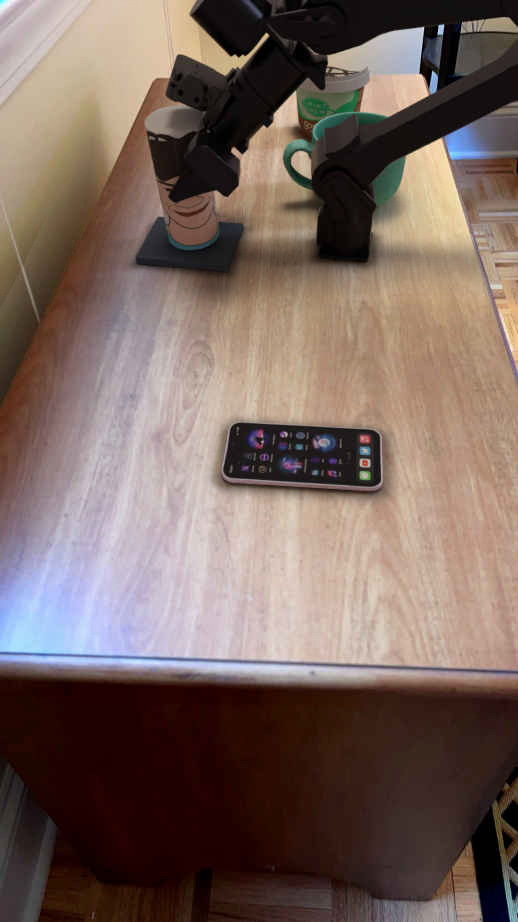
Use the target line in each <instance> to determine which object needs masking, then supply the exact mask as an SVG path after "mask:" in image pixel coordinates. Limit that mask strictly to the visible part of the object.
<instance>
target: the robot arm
mask: <svg viewBox="0 0 518 922" xmlns="http://www.w3.org/2000/svg"><path fill="white" fill-rule="evenodd" d="M188 15H189V17H190V18H191V19H192V20H193V21H194V22H195V23H196V24H197V25H198V26H199V27H200V28H201V29H202V30H203V31H204V32H205V33H206V34H207V35H208V36H209V37H210V38H211V39H212V40H213V41H214V42H215V43H216V44H217V45H218V46H219V47H220V48H221V49H222V51H224V52H225V54H227V55H228V56H229V57H234V56H236V57H237V58H238V59H239V58H241V57H242V56H243V57H246V56H248V55H249V54H251V52H252V51H254V50H255V48H256V47H257V46H258V44H259V43H260V42H261V40H262V39H263V38H264V36H265V35H266V34H267V35H268V36H267V37H266V38H265V39H264V40H263V42H261V44H260V45H259V46H258V48H256V50H255V51H254V52H253V53H252V55H251V56H250V57H249V58H248V59H247V60H246V61H245V63H243V65H242V66H241V67H239V65H238V66H236V68H234V67H232V68H231V69H230V70H229V72H227V74H226V75H225V74H223V73H221V72H219V71H217V70H216V69H215V68H213V67H212V66H210V65H207V64H205V63H203V62H201V61H199V60H196V59H194V58H193V57H190V56H188V55H185V54H181V53H179V54H177V55H175V56H176V57H175V60H174V63H173V66H172V68H171V72H170V76H169V79H168V82H167V86H166V89H165V92H164V94H165V96H166V98H167V99H169V100H170V101H172V102H173V103H179V104H181V105H186V106H189V107H191V108H193V109H196V110H199V111H201V112H202V114H203V116H202V120H203V121H204V124H205V132H198V133H197V134H196V135H195V136H194V138H193V139H192V140H191V142H190V143H188V142H187V144H186V148H185V152H184V160H185V162H186V166H185V168H184V169H183V171H182V173H181V174H180V176H179V178H178V179H177V181H176V183H175V184H174V186H173V188H172V190H171V191H170V193H169V195H168V198H169V199H170V200H171V201H173V202H174V203H176V202H179V201H182V200H185V199H188V198H191V197H194V196H197V195H201V194H204V193H208V192H212V191H214V192H215V191H217V192H218V194H220V195H221V196H223V197H225V198H229V197H230V196H231V195H232V193H234V192H235V191H236V190H237V188H238V187H239V186H240V178H241V159H240V158H239V157H237V156H236V155H235V154H234V153H233V152H232V151H233V149H234V148H235V149H236V150H237V152H239V154H241V155H244V154H246V152H247V151H248V150H249V149H250V141H251V139H252V138H253V137H254V136H255V135H256V134H257V133H258V132H259V131H260V130H261V129H262V128H263V127H264V128H266V129H269V128H270V127H271V125H273V123H274V122H275V121H274V120H275V114H276V112H278V111H279V109H280V108H281V107H282V106H283V105H285V103H286V102H287V101H288V100H289V99H290V97H291V96H292V95H293V94H294V93H296V90H297V89H298V88H299V87H300V85H301V84H302V83H303V82H304V81H305V80H306V79H307V78H309V79H310V80H311V81H312V82H313V83H314V84H315V85H316V86H317V88H318V89H319V90H321V91H322V90H324V89H325V88H326V81H325V75H326V69H327V67H329V56H332V55H336V54H339V53H341V52H345V51H349V50H352V49H356V48H357V47H361V46H363V45H364V44H367V43H369V42H370V41H372V40H374V39H376V38H378V37H379V36H382V35H384V34H388V33H391V32H397V31H405V30H412V29H421V28H428V27H437V26H444V25H453V24H461V23H468V22H476V21H477V22H478V21H483V20H492V19H499V18H508V19H510V21H512V23H513V24H514V25H515V27H517V28H518V0H195V2H194V4H193V6H192V7H191V9H190V11H189V14H188ZM516 102H518V38H517V39H516V40H515V41H514V42H513V43H512V44H511V45H510V46H509V47H508V49H506V50H505V52H503V54H502V55H500V56H499V57H498V58H496V59H495V60H493V61H491V62H490V63H488V64H485V65H484V66H482V67H480V68H478V69H476V70H475V71H472V72H471V73H469V74H467V75H464V76H463V77H461V78H459V79H457V80H456V81H453V82H452V83H450V84H448V85H445V86H444V87H443V88H440V89H439V90H437V91H434V92H433V93H431V94H429V95H427V96H425V97H423V98H421V99H420V100H418V101H415V102H414V103H412V104H410V105H408V106H406V107H405V108H402V109H401V110H399V111H397V112H395V113H393V114H392V115H390V116H387V117H388V118H386V119H384V120H382V121H380V122H377V123H374V124H363V125H358V121H357V116H356V115H355V114H354V115H351V116H349V117H348V118H347V119H345V120H344V121H343V122H341V123H340V124H338V125H336V126H334V127H330V128H325V129H324V135H323V136H322V137H321V138H319V139H318V140H317V141H316V143H315V144H314V147H313V150H312V153H311V160H310V176H311V178H310V179H311V185H312V188H313V190H312V191H313V193H314V194H315V196H317V198H318V199H320V200H321V201H323V203H322V205H321V206H320V207H319V210H318V213H317V218H316V219H317V220H316V237H315V238H316V239H315V240H316V241H315V242H316V243H315V244H316V246H318V247H319V248H318V251H317V257H318V258H320V259H329V260H330V259H331V260H341V261H353V262H362V263H363V262H364V263H366V262H369V261H370V255H371V248H372V242H373V236H374V234H373V226H374V225H373V223H374V216H375V215H374V214H375V211H376V209H377V207H376V206H377V205H376V197H375V190H374V181H375V180H376V179H377V178H378V176H379V175H380V174H381V173H382V172H383V171H384V170H385V169H386V168H387V167H388V166H389V165H390V164H391V163H393V162H395V161H397V160H399V159H401V158H403V157H405V156H406V157H407V156H409V155H411V154H413V153H415V152H417V151H419V150H421V149H423V148H425V147H426V146H428V145H430V144H433V143H435V142H436V141H439V140H440V139H443V138H445V137H447V136H449V135H451V134H452V133H453V134H454V133H455V132H457V131H459V130H461V129H462V128H465V127H467V126H469V125H470V124H471V125H472V124H473V123H475V122H477V121H478V120H480V119H482V118H485V117H486V116H488V115H490V114H492V113H494V112H497V111H499V110H501V109H502V108H504V107H507V106H508V105H510V104H513V103H516Z"/></svg>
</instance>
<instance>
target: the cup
mask: <svg viewBox="0 0 518 922" xmlns="http://www.w3.org/2000/svg"><path fill="white" fill-rule="evenodd" d="M202 116H203V114H202V112H201V111H199V110H196V109H193V108H191V107H189V106H186V105H184V104H177V105H170V106H165V107H161V108H159V109H156V110H154V111H152V112H151V113H150V114H149V115H147V116H146V117H145V120H144V121H143V123H144V127H145V132H146V137H147V142H148V146H149V147H148V148H149V151H150V156H151V161H152V166H153V169H154V175H155V180H156V184H157V185H156V186H157V190H158V193H159V199H160V204H161V209H162V214H163V217H164V219H165V224H166V229H167V233H168V238H169V242H170V243H171V244H172V245H173V246H174V247H176V248H178V249H183V250H197V249H202V248H204V247H207V246H209V245H211V244H212V243H214V242H215V241H216V240H217V238H218V237H219V233H220V231H219V224H218V222H219V218H218V211H217V203H216V196H215V191H212V192H208V193H204V194H201V195H197V196H194V197H191V198H188V199H185V200H182V201H179V202H176V203H174V202H173V201H171V200H170V199H169V198H168V195H169V193H170V191H171V190H172V188H173V186H174V184H175V183H176V181H177V179H178V178H179V176H180V174H181V173H182V171H183V169H184V168H185V166H186V162H185V160H184V152H185V148H186V144H187V142H188V143H190V142H191V140H192V139H193V138H194V136H195V135H196V134H197V133H198V132H205V124H204V121H203V120H202Z"/></svg>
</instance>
